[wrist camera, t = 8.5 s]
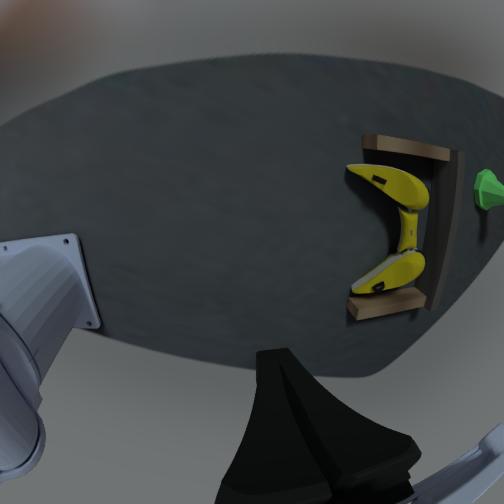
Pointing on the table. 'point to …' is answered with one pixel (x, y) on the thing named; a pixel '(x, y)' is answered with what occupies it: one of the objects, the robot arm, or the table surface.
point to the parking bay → (437, 232)
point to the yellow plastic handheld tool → (408, 256)
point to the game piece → (488, 190)
